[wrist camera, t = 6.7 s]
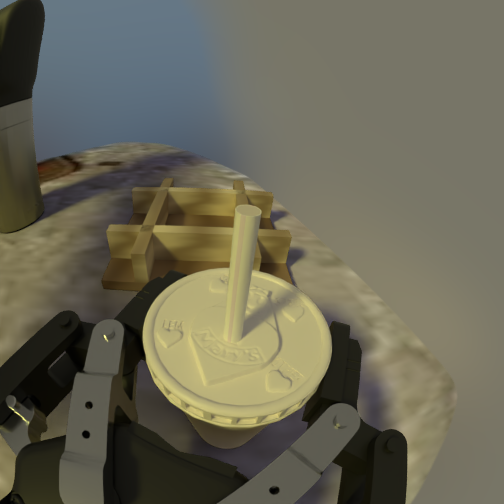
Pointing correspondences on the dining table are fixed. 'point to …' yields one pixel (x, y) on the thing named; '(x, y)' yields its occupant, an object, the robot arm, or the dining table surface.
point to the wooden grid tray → (188, 235)
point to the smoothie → (236, 344)
